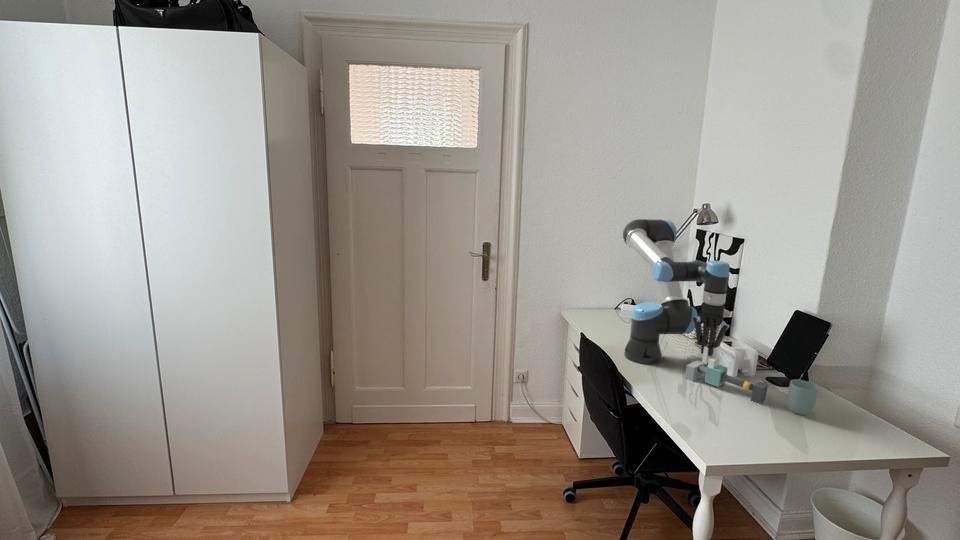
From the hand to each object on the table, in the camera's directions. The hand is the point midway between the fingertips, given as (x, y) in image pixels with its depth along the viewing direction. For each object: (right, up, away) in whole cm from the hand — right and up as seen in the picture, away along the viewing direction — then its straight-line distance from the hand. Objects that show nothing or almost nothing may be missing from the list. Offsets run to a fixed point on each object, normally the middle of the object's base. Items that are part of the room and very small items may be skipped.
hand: (705, 362), depth 173 cm
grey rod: (+5, -6, -4) cm, 9 cm away
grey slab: (-2, -7, +5) cm, 8 cm away
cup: (+22, -13, -20) cm, 32 cm away
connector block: (+12, -11, -13) cm, 21 cm away
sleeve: (+3, -8, -1) cm, 9 cm away
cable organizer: (+15, -6, +10) cm, 19 cm away
